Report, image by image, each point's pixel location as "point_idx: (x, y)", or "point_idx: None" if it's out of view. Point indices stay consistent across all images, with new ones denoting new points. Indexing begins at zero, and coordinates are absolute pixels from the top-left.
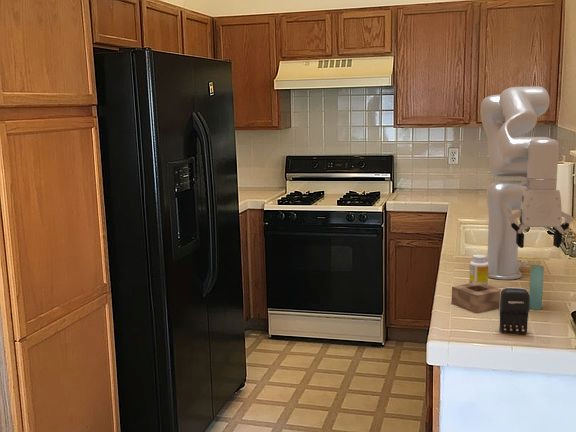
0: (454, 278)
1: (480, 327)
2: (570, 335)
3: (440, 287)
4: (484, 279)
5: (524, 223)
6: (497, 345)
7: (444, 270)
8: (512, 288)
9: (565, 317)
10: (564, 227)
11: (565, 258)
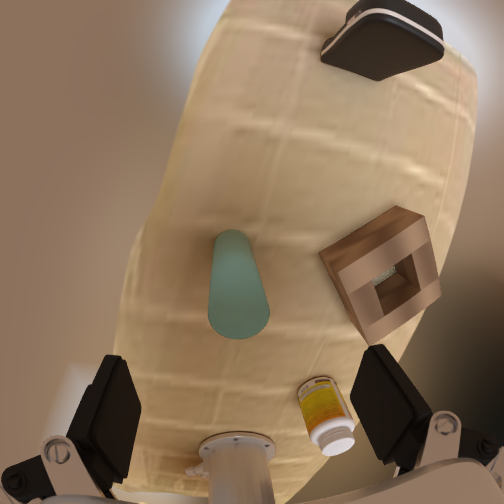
0: None
1: (410, 105)
2: (215, 30)
3: None
4: (317, 395)
5: (484, 468)
6: None
7: None
8: (424, 27)
9: (170, 166)
10: (36, 475)
11: (117, 483)
